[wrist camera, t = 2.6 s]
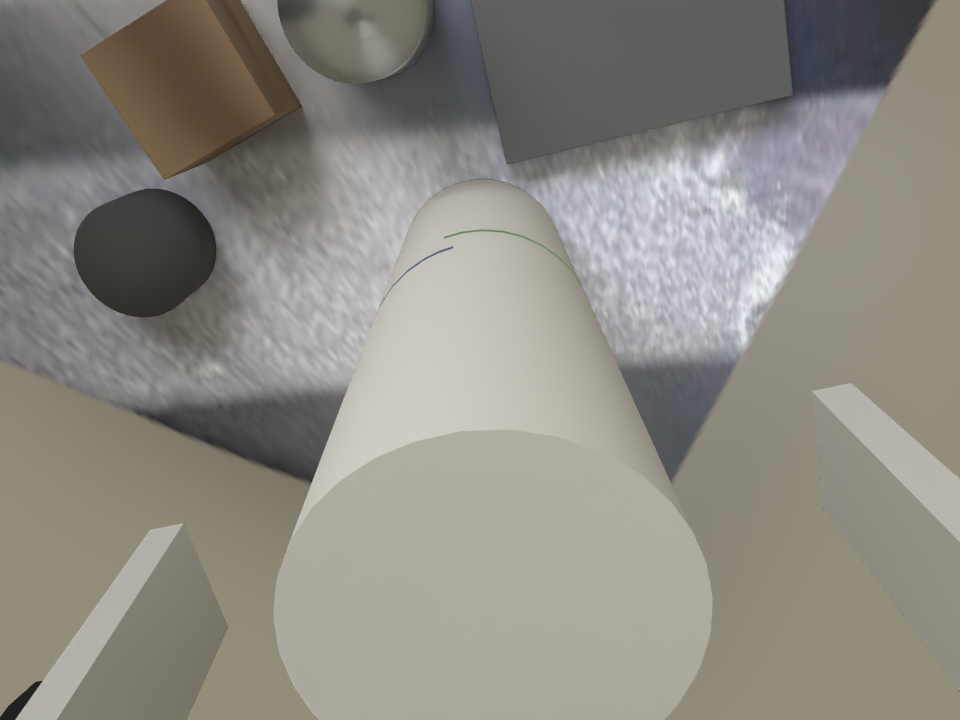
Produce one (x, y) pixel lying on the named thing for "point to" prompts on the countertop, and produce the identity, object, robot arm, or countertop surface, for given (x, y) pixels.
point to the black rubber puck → (144, 252)
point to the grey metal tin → (357, 35)
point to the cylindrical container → (490, 501)
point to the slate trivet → (624, 65)
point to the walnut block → (191, 81)
